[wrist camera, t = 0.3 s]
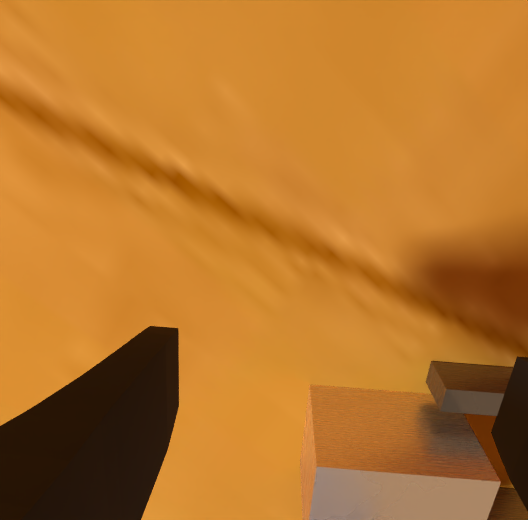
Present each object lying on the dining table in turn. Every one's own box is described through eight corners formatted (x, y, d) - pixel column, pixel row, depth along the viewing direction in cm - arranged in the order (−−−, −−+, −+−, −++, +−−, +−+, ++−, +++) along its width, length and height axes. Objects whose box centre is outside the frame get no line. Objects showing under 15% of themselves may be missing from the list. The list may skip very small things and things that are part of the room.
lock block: (431, 469, 23) (469, 568, 18) (300, 459, 23) (304, 553, 18) (452, 394, 21) (500, 481, 16) (309, 382, 21) (316, 466, 16)
